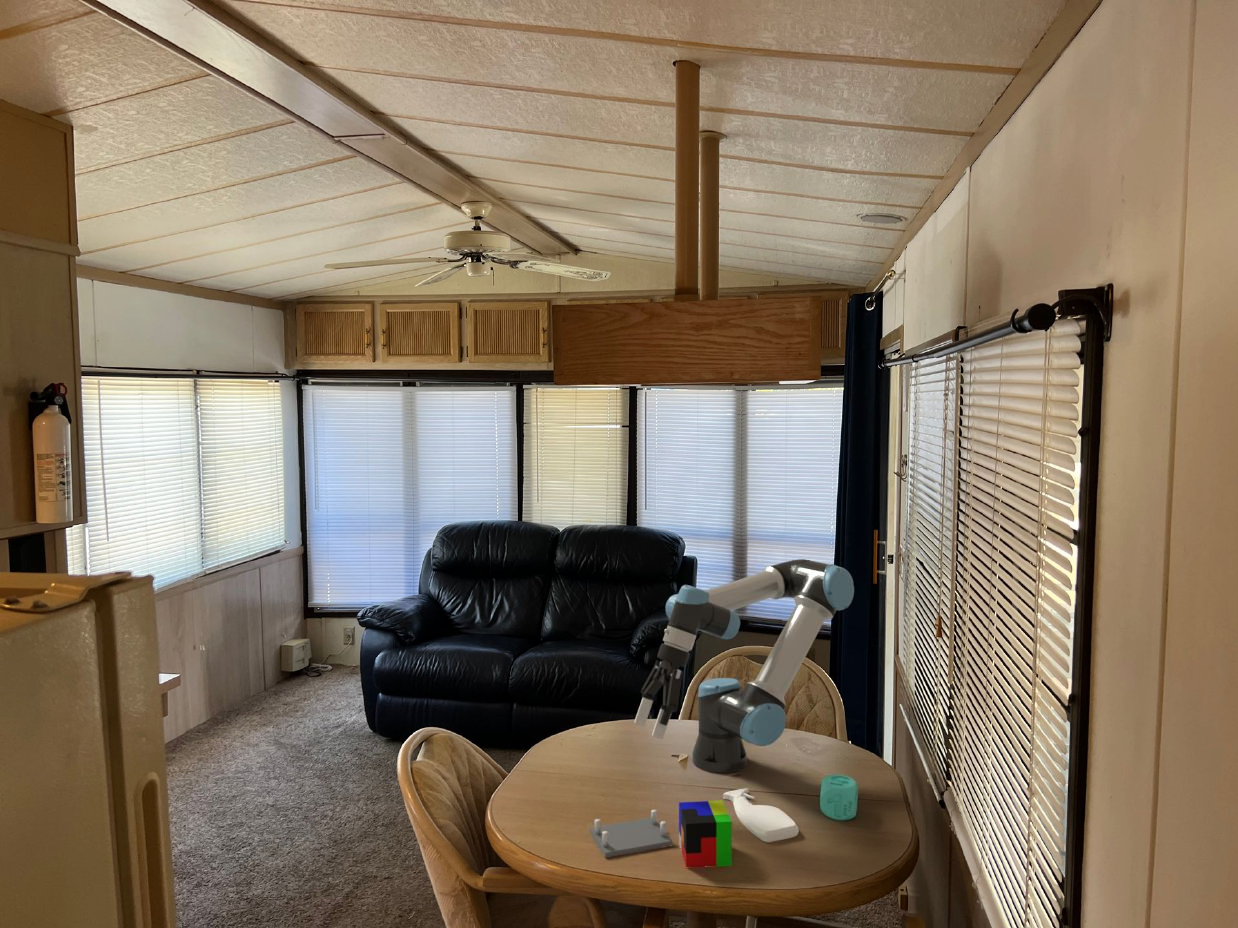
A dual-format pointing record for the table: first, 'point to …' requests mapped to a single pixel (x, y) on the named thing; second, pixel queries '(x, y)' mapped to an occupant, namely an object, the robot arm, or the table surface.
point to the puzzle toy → (705, 834)
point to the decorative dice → (839, 797)
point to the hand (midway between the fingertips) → (647, 730)
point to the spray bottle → (762, 818)
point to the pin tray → (630, 836)
